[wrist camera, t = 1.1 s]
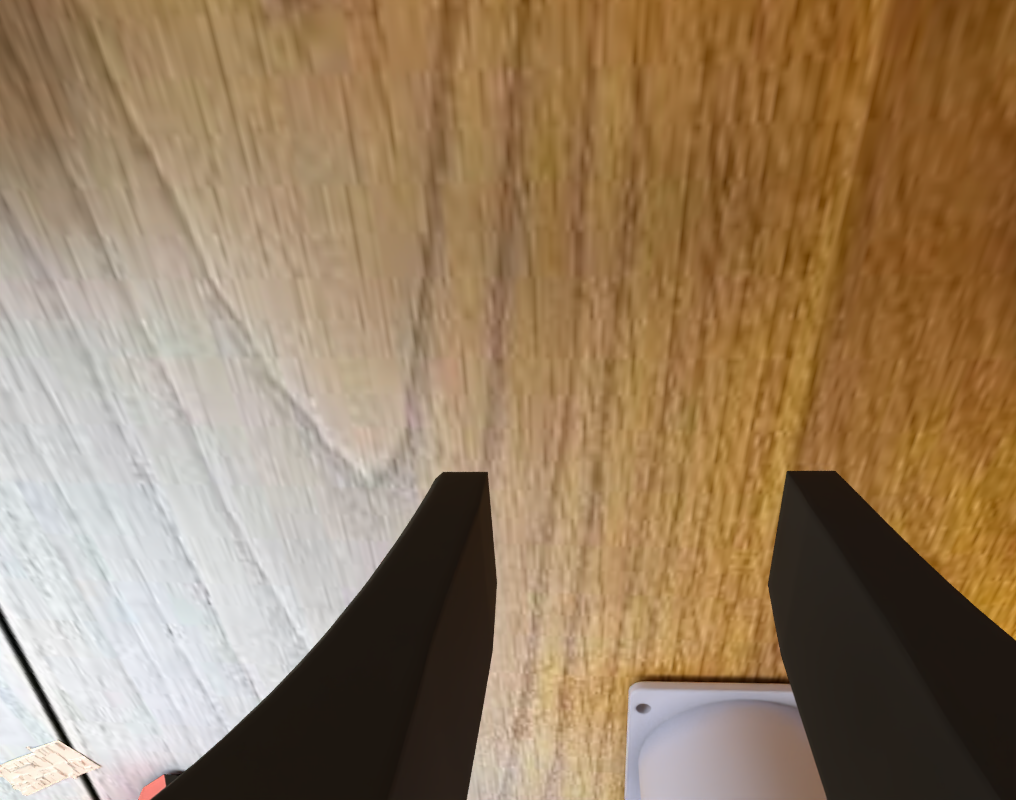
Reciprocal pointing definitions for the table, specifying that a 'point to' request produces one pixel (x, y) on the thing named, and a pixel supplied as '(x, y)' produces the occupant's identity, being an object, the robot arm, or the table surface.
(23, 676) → the table surface
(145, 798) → the cat figurine
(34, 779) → the card
